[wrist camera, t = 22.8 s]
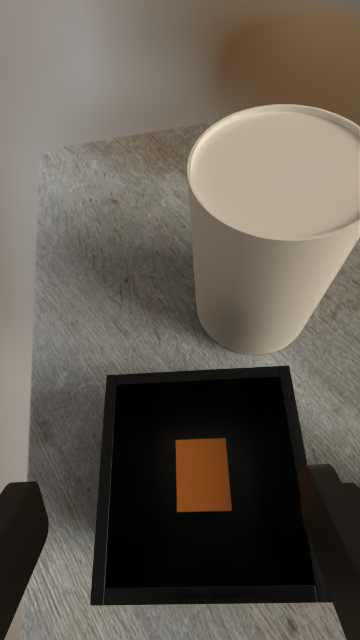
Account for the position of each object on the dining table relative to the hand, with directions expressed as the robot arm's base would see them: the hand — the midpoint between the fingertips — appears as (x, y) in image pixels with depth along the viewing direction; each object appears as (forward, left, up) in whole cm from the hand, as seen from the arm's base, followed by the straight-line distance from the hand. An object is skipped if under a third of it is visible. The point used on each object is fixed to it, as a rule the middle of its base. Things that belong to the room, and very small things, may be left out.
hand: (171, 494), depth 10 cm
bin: (+1, +1, -25) cm, 25 cm away
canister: (+8, +20, -25) cm, 33 cm away
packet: (+1, +1, -24) cm, 24 cm away
